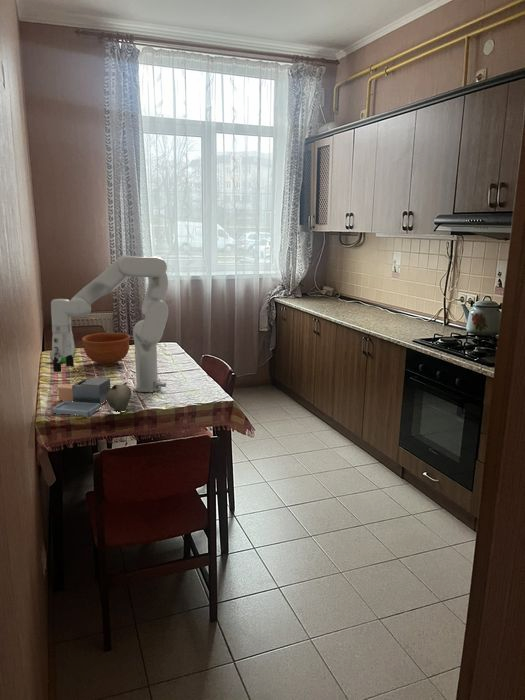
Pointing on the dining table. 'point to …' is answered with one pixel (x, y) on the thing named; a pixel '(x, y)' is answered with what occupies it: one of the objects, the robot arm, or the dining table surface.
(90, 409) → the tray
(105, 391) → the dispenser
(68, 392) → the tan rectangular block
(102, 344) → the bowl
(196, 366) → the dining table surface
